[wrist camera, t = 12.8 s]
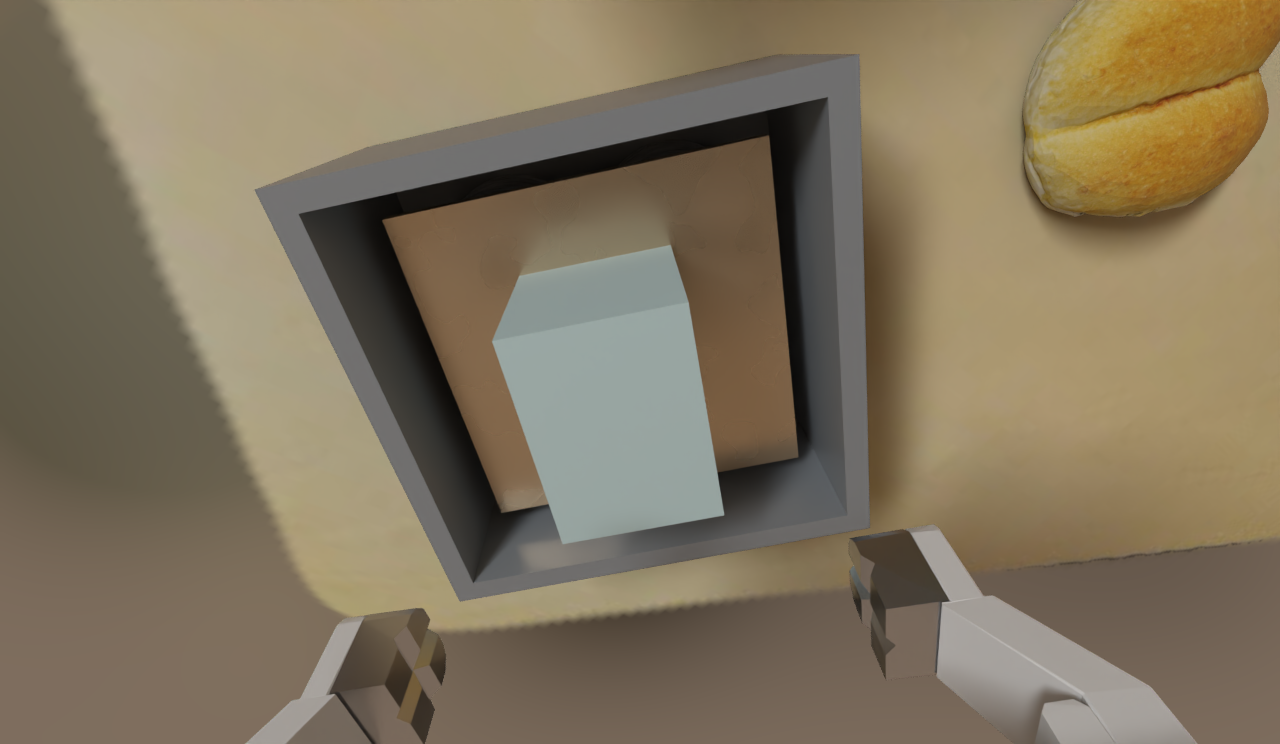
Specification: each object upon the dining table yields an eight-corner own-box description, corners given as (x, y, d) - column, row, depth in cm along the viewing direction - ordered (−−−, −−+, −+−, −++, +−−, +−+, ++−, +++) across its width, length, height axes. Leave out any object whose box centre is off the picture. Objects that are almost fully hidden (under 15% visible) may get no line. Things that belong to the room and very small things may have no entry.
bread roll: (1259, -81, 20) (1395, -110, 17) (1203, 181, 25) (1303, 202, 21) (1016, -17, 21) (1099, -32, 17) (1001, 228, 25) (1066, 256, 22)
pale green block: (670, 245, 19) (688, 302, 15) (701, 424, 22) (724, 515, 18) (519, 275, 19) (491, 341, 15) (572, 448, 23) (562, 544, 18)
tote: (777, 54, 22) (859, 54, 14) (806, 412, 29) (869, 527, 22) (367, 147, 22) (254, 189, 15) (495, 471, 30) (459, 601, 23)
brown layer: (739, 120, 22) (769, 135, 18) (771, 398, 27) (798, 457, 23) (422, 190, 22) (382, 220, 18) (517, 447, 28) (501, 513, 24)
